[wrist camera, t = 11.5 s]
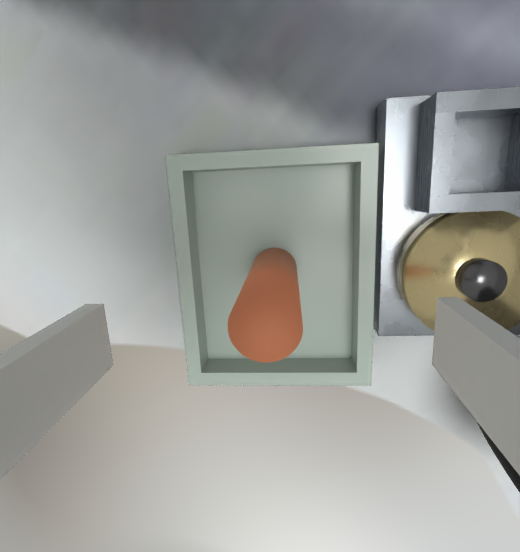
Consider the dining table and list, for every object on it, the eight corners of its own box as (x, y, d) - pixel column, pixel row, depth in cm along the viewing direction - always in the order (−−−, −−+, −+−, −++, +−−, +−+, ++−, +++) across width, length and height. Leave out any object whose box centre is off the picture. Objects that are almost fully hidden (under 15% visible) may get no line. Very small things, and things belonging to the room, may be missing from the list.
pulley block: (511, 320, 26) (567, 354, 21) (370, 322, 27) (390, 355, 22) (539, 96, 23) (616, 68, 17) (376, 107, 23) (402, 84, 18)
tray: (179, 158, 25) (165, 154, 22) (368, 148, 24) (378, 142, 21) (199, 365, 29) (188, 385, 26) (362, 364, 28) (371, 385, 25)
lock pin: (251, 248, 26) (225, 292, 15) (296, 247, 25) (302, 291, 15) (253, 291, 26) (229, 362, 16) (297, 290, 26) (303, 362, 15)
